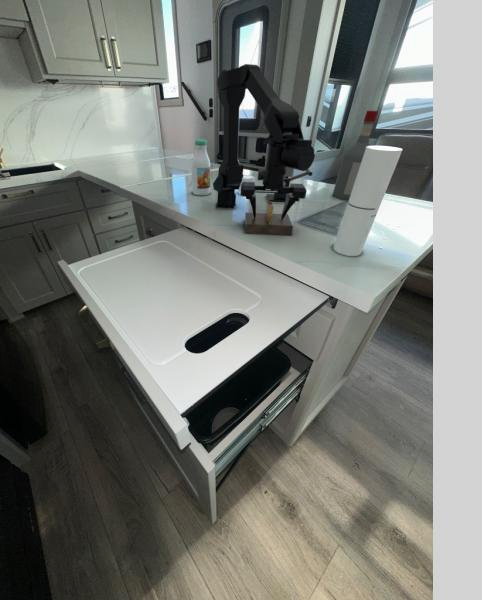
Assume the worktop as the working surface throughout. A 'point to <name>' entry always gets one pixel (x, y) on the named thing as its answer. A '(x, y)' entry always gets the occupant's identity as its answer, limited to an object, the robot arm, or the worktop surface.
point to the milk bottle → (201, 169)
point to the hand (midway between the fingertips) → (268, 218)
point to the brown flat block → (268, 224)
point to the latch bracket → (277, 196)
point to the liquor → (353, 160)
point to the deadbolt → (269, 211)
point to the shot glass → (246, 180)
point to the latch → (301, 175)
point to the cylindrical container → (366, 198)
